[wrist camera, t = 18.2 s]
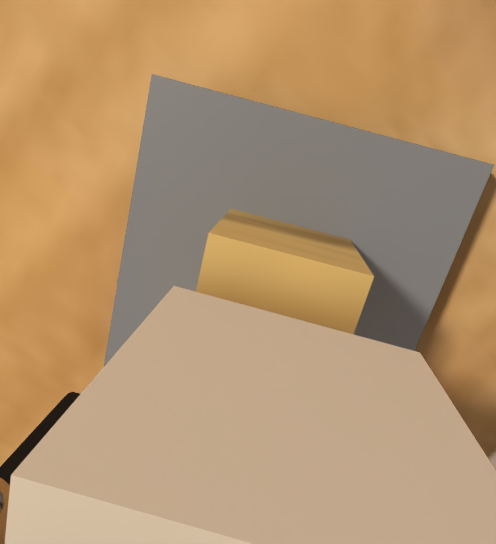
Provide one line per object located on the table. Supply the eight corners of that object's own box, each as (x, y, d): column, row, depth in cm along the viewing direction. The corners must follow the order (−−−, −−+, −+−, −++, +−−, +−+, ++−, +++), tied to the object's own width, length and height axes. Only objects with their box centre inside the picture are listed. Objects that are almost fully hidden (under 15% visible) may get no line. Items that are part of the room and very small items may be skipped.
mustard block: (231, 208, 20) (208, 232, 15) (350, 239, 20) (374, 276, 14) (205, 317, 22) (177, 376, 16) (314, 346, 22) (323, 416, 16)
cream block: (173, 285, 10) (11, 474, 4) (419, 352, 10) (607, 644, 4) (133, 481, 12) (-20, 804, 6) (340, 539, 11) (391, 928, 6)
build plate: (159, 78, 20) (151, 73, 19) (482, 163, 20) (494, 164, 19) (111, 361, 25) (103, 371, 24) (369, 432, 25) (373, 446, 23)
